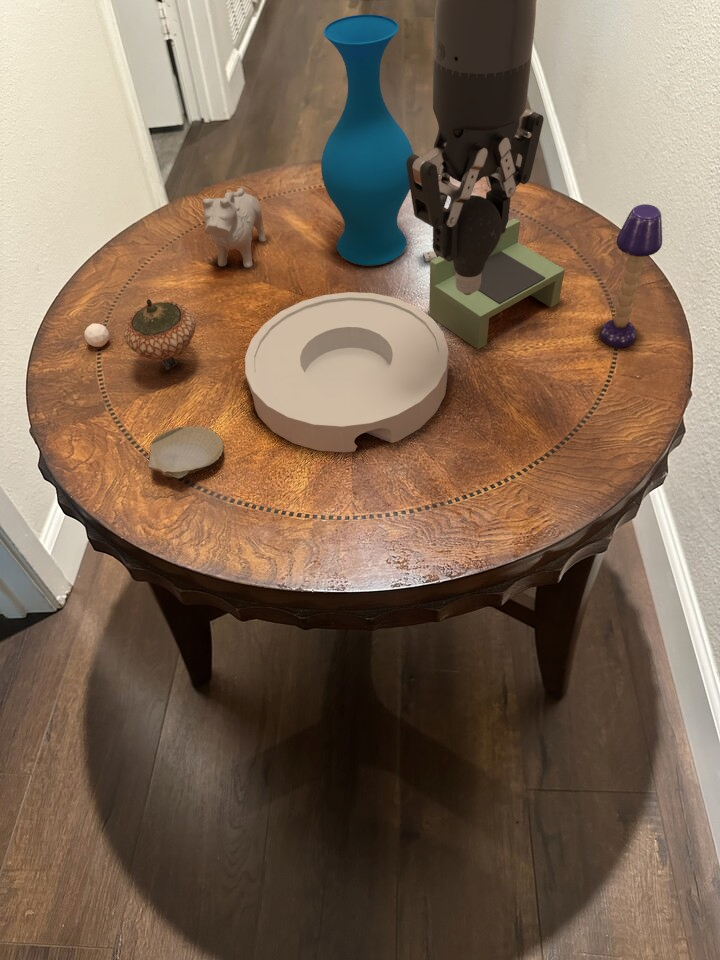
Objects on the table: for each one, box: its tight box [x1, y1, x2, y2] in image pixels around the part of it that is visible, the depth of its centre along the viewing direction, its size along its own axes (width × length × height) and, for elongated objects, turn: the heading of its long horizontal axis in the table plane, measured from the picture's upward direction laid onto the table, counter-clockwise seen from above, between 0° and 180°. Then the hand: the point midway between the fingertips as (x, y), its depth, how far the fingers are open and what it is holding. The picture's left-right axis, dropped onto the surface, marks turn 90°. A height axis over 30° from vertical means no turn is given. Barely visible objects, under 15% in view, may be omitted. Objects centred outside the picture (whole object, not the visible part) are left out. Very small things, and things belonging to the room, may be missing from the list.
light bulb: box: [453, 194, 502, 295], centre depth 70 cm, size 6×6×10 cm
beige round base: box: [244, 291, 449, 453], centre depth 86 cm, size 23×23×4 cm
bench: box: [428, 217, 566, 351], centre depth 92 cm, size 14×9×8 cm, turn 127°
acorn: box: [123, 298, 197, 370], centre depth 87 cm, size 8×8×10 cm
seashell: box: [147, 425, 225, 479], centre depth 80 cm, size 8×3×8 cm
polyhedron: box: [83, 322, 110, 348], centre depth 93 cm, size 3×3×3 cm
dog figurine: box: [202, 187, 267, 269], centre depth 102 cm, size 5×13×11 cm, turn 169°
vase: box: [320, 14, 414, 267], centre depth 94 cm, size 12×13×28 cm
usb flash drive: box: [422, 251, 439, 262], centre depth 102 cm, size 8×2×1 cm, turn 102°
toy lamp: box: [599, 203, 663, 348], centre depth 83 cm, size 5×5×17 cm
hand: (470, 243), depth 70 cm, fingers closed on light bulb, 5 cm apart
